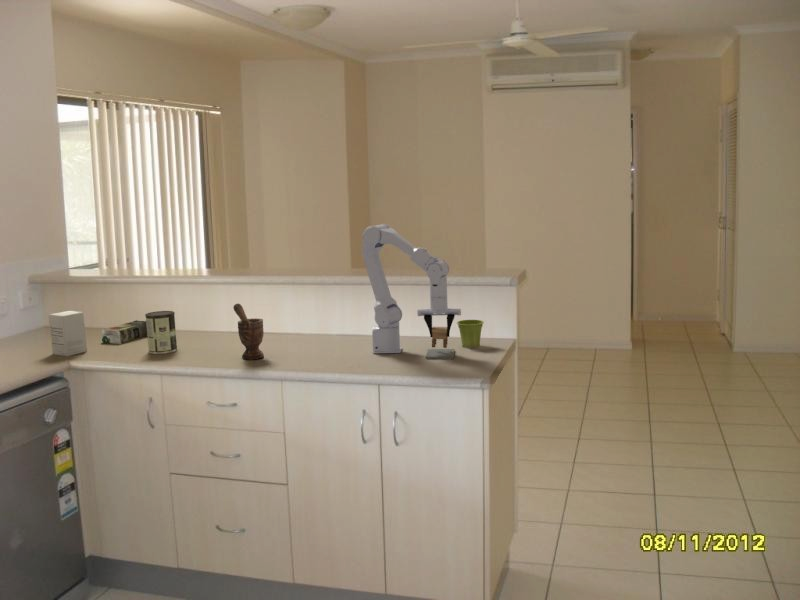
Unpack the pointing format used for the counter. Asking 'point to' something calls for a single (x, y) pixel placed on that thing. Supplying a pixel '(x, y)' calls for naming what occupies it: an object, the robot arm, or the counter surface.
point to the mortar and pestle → (250, 334)
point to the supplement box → (67, 333)
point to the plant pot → (470, 332)
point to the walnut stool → (439, 335)
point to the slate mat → (440, 354)
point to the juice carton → (125, 332)
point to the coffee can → (161, 332)
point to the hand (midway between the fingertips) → (439, 336)
